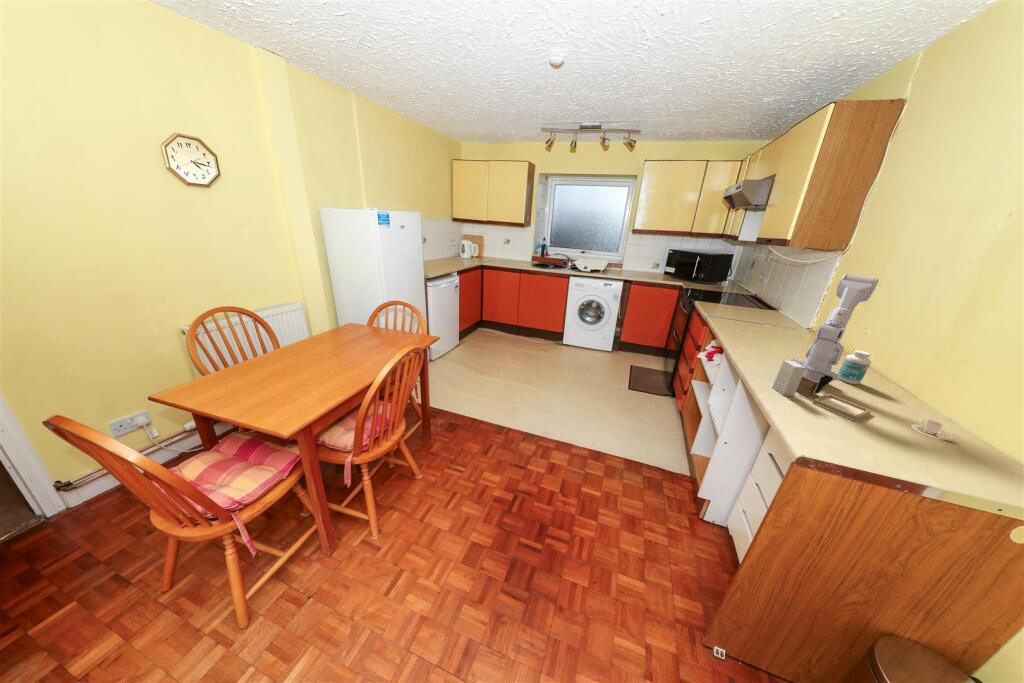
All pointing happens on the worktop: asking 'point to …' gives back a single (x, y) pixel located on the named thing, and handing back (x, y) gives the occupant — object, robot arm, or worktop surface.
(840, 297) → the robot arm
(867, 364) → the pill bottle
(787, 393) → the skincare box
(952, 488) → the worktop surface
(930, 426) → the teacup and saucer
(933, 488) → the worktop surface
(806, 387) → the cube
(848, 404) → the tray
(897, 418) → the worktop surface
